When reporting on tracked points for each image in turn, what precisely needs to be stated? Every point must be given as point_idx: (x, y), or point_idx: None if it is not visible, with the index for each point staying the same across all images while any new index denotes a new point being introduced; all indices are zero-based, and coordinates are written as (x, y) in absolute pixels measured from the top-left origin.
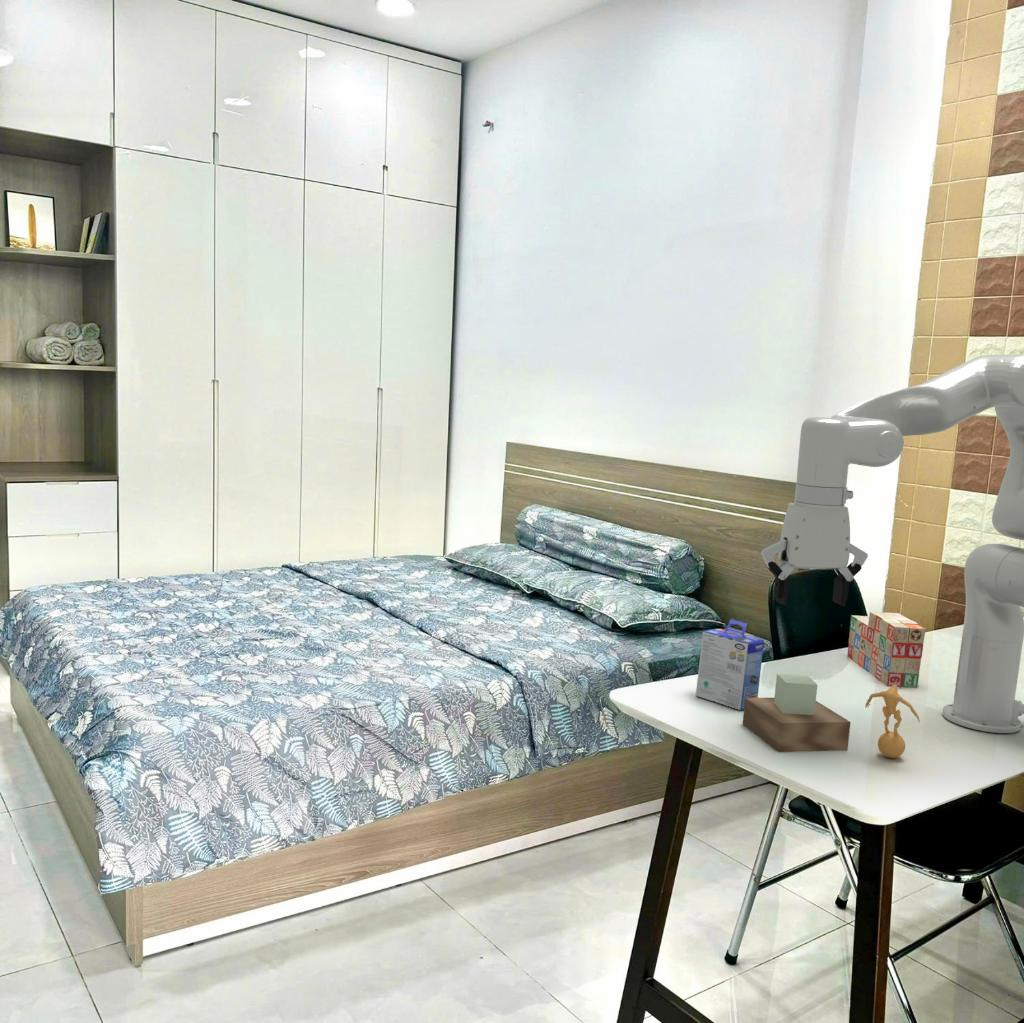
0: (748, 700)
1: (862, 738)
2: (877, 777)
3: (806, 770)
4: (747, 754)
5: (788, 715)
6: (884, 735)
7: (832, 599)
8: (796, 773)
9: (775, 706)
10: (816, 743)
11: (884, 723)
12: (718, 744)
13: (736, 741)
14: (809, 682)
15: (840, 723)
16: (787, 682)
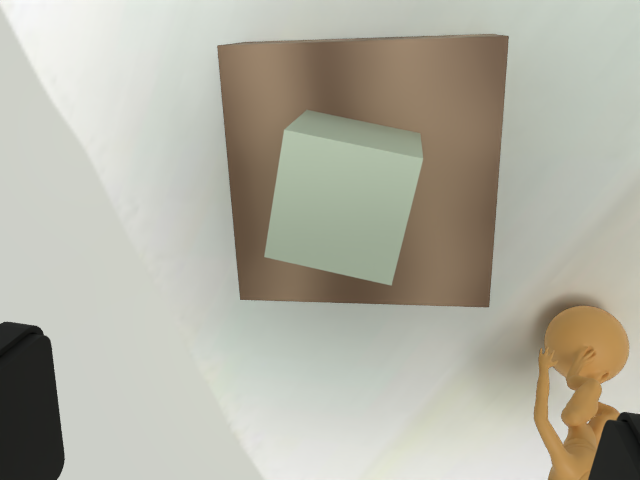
0: (220, 73)
1: (602, 183)
2: (439, 426)
3: (280, 372)
4: (170, 271)
5: None
6: (566, 355)
7: (613, 423)
8: (246, 383)
9: None
10: None
11: (567, 382)
12: (114, 202)
13: (172, 184)
14: (371, 257)
15: (449, 304)
16: (271, 252)
